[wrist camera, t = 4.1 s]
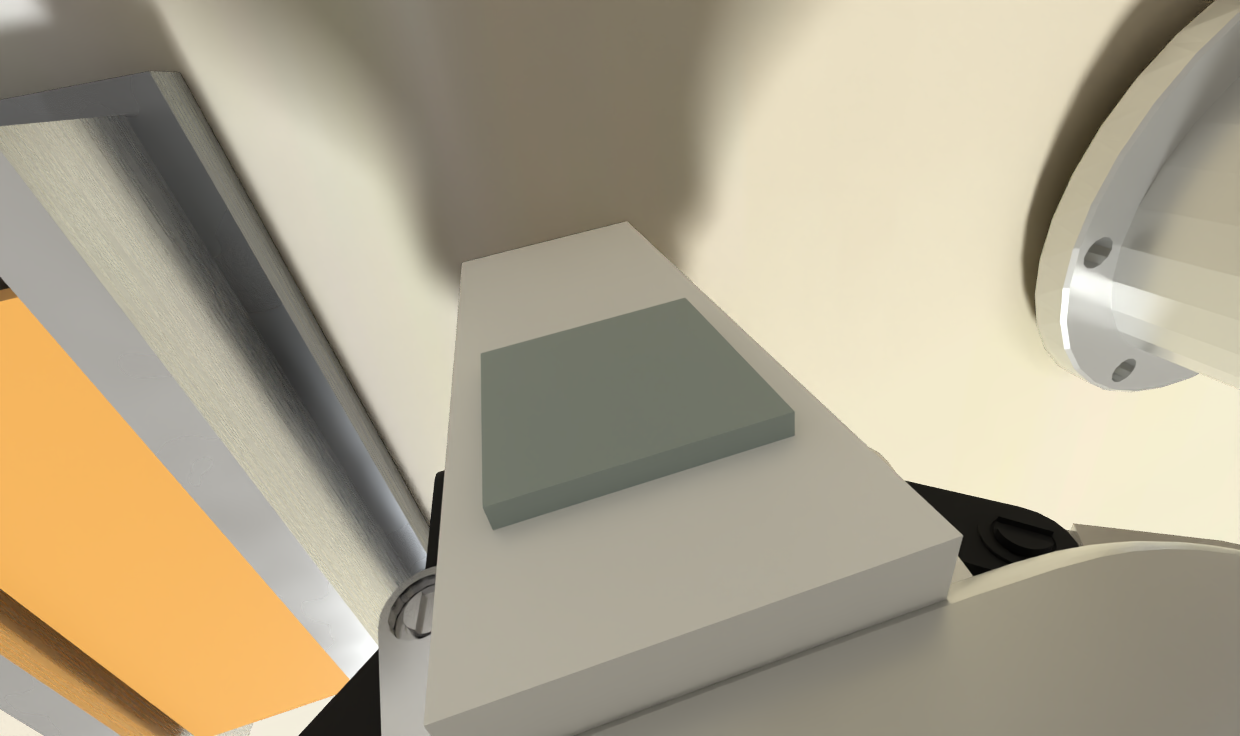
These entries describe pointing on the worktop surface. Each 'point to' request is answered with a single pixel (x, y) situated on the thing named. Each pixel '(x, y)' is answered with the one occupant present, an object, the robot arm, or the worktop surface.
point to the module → (643, 499)
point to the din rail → (191, 377)
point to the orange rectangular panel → (134, 553)
